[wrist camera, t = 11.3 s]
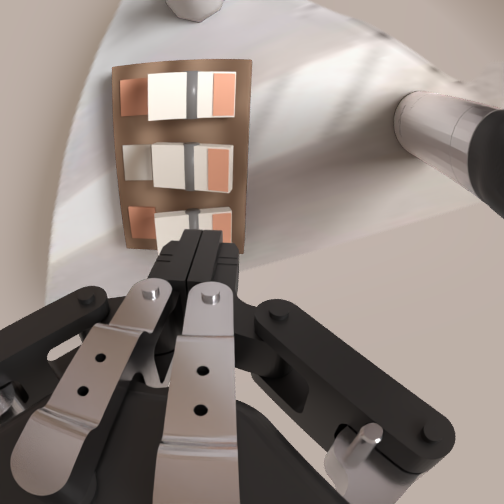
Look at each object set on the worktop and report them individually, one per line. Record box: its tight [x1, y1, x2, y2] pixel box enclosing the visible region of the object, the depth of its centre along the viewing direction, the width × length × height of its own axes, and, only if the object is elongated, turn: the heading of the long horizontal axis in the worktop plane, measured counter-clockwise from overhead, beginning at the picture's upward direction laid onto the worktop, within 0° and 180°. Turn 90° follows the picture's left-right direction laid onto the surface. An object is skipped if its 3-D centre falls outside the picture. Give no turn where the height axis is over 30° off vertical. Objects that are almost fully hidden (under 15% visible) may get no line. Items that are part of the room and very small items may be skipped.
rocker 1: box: [148, 71, 236, 121], centre depth 30 cm, size 9×5×2 cm, turn 88°
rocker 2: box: [152, 142, 233, 193], centre depth 34 cm, size 9×5×2 cm, turn 87°
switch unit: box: [112, 59, 252, 254], centre depth 38 cm, size 16×24×4 cm, turn 177°
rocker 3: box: [154, 207, 232, 256], centre depth 38 cm, size 9×5×2 cm, turn 88°
